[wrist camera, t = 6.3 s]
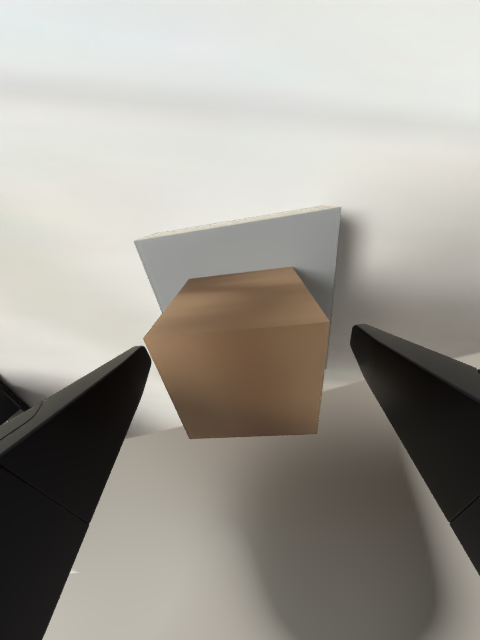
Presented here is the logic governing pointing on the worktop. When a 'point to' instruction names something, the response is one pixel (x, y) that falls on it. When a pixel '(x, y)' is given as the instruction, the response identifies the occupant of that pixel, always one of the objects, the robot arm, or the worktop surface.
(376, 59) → the worktop surface
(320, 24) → the worktop surface
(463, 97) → the worktop surface
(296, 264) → the base
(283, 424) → the walnut cube
